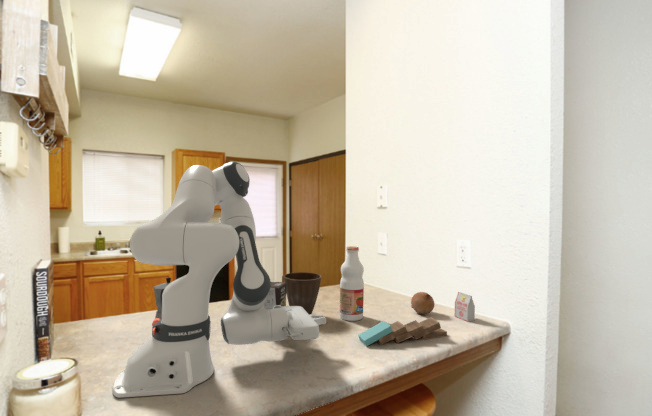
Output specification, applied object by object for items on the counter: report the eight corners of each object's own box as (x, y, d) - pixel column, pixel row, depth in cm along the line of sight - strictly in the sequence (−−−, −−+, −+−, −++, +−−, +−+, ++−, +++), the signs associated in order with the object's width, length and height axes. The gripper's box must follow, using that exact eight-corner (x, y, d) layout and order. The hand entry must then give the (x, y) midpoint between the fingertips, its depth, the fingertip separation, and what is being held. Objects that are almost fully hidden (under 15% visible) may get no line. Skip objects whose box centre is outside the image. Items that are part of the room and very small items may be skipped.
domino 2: (395, 337, 108) (422, 325, 109) (389, 331, 112) (415, 320, 114) (397, 343, 108) (424, 331, 110) (391, 336, 113) (417, 325, 115)
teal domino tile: (364, 340, 104) (390, 325, 107) (357, 335, 109) (383, 320, 112) (366, 346, 105) (392, 331, 107) (360, 340, 109) (385, 326, 112)
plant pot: (328, 316, 134) (329, 276, 134) (299, 324, 123) (300, 281, 123) (304, 307, 144) (304, 270, 144) (275, 315, 134) (276, 275, 134)
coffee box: (277, 335, 112) (278, 287, 112) (259, 333, 114) (260, 286, 114) (286, 326, 121) (287, 281, 121) (269, 324, 123) (270, 280, 123)
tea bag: (461, 315, 138) (462, 291, 138) (474, 320, 131) (474, 295, 131) (454, 316, 136) (455, 292, 136) (467, 322, 130) (467, 296, 130)
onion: (430, 323, 137) (438, 304, 133) (407, 315, 138) (415, 296, 134) (429, 308, 145) (437, 290, 141) (408, 301, 147) (415, 283, 143)
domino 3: (413, 334, 110) (439, 322, 112) (406, 328, 115) (431, 317, 117) (415, 339, 110) (441, 327, 112) (408, 333, 115) (432, 322, 117)
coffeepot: (157, 323, 122) (158, 274, 122) (185, 321, 124) (186, 273, 124) (145, 339, 107) (146, 283, 107) (177, 337, 109) (178, 282, 109)
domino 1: (378, 339, 106) (405, 326, 109) (372, 333, 111) (397, 321, 113) (380, 345, 106) (407, 331, 109) (374, 339, 111) (399, 326, 114)
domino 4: (423, 335, 112) (447, 331, 115) (413, 329, 116) (437, 326, 120) (422, 341, 112) (446, 337, 115) (413, 335, 116) (437, 332, 120)
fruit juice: (340, 313, 138) (341, 245, 138) (362, 314, 137) (364, 246, 137) (338, 320, 128) (340, 248, 128) (363, 322, 127) (364, 248, 128)
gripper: (286, 324, 87) (336, 319, 92) (273, 304, 107) (315, 300, 111) (286, 348, 87) (336, 342, 91) (273, 323, 107) (315, 319, 111)
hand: (324, 319), depth 101 cm, fingers closed
